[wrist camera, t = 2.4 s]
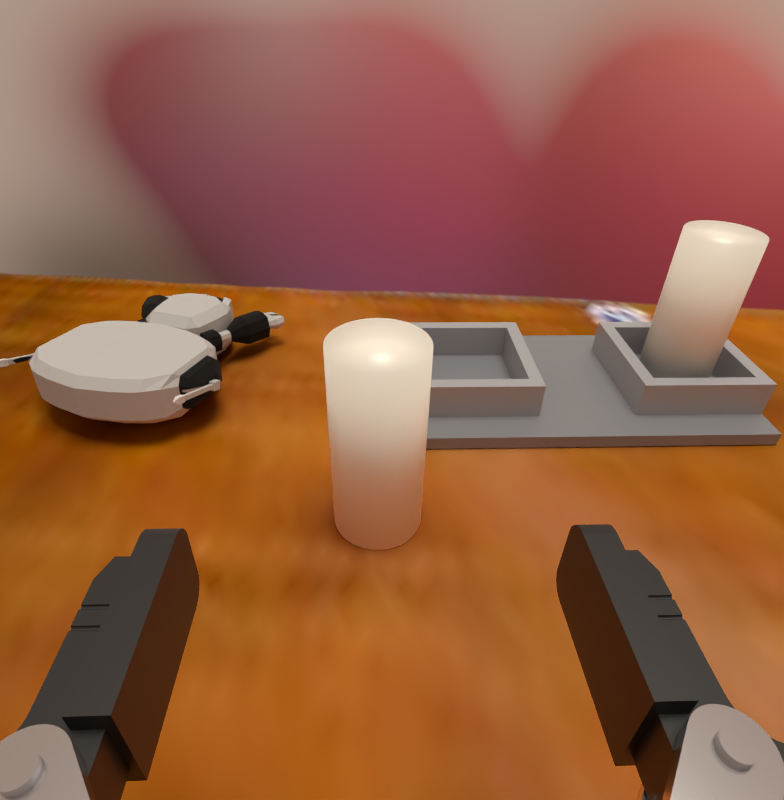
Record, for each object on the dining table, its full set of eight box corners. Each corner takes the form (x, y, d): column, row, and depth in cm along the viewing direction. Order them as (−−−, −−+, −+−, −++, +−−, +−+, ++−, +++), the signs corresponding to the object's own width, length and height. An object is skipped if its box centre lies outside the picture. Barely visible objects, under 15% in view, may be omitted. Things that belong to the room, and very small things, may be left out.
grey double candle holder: (681, 344, 42) (735, 202, 36) (775, 444, 33) (872, 274, 26) (399, 345, 41) (404, 200, 35) (410, 449, 32) (419, 274, 25)
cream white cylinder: (417, 483, 29) (428, 317, 24) (424, 549, 26) (439, 373, 20) (336, 484, 29) (326, 318, 23) (332, 551, 26) (319, 373, 20)
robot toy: (161, 327, 45) (5, 423, 33) (151, 274, 43) (-22, 356, 30) (297, 350, 42) (182, 464, 30) (294, 295, 40) (167, 395, 28)
